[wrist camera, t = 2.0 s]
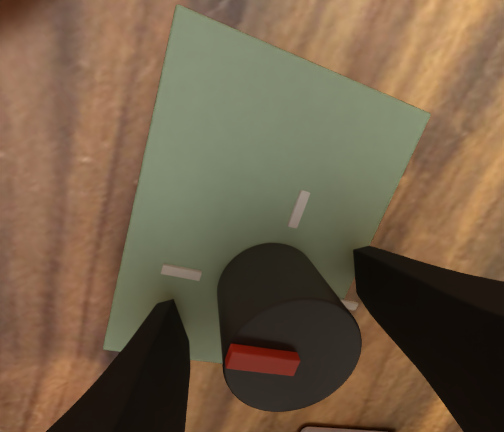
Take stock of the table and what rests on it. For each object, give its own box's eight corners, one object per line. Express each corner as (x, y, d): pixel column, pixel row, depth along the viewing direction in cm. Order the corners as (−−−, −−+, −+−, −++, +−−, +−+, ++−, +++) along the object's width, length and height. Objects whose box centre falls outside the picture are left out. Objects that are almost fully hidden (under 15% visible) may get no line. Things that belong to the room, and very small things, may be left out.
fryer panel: (299, 332, 16) (321, 380, 13) (122, 304, 14) (100, 355, 11) (392, 119, 13) (449, 119, 10) (183, 34, 10) (175, -1, 7)
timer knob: (331, 254, 11) (392, 318, 7) (295, 336, 12) (334, 426, 8) (234, 231, 10) (251, 292, 6) (204, 322, 11) (206, 418, 7)
